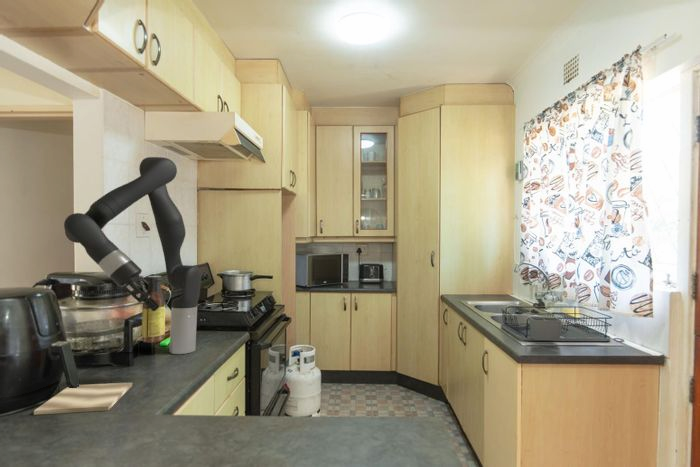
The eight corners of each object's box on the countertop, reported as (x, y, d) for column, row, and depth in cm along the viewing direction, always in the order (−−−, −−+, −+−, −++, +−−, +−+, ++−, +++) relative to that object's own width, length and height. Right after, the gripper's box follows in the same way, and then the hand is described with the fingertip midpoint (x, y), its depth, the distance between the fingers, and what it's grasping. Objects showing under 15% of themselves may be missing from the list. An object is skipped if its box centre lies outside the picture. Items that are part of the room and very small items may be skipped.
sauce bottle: (168, 338, 115) (172, 275, 116) (156, 344, 109) (159, 277, 110) (149, 337, 116) (152, 274, 116) (135, 342, 110) (139, 276, 110)
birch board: (69, 388, 103) (69, 385, 103) (132, 386, 107) (132, 382, 107) (33, 414, 88) (34, 410, 88) (108, 410, 91) (108, 406, 91)
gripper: (121, 260, 105) (163, 302, 107) (138, 258, 119) (176, 295, 121) (99, 278, 103) (142, 320, 105) (119, 274, 117) (157, 311, 119)
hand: (160, 306), depth 113 cm, fingers closed on sauce bottle, 6 cm apart
